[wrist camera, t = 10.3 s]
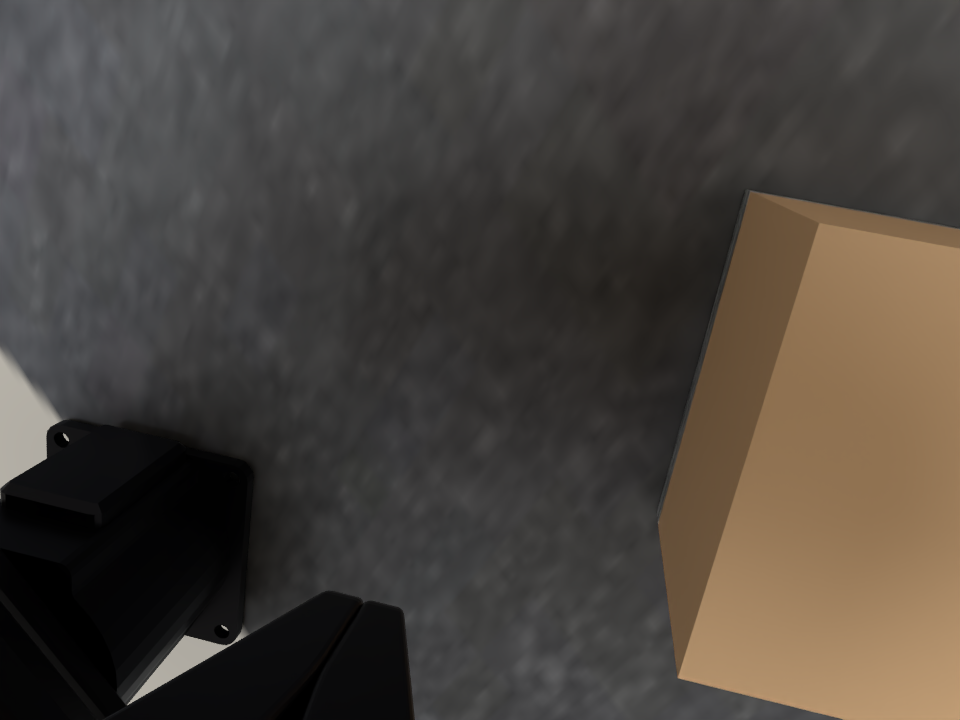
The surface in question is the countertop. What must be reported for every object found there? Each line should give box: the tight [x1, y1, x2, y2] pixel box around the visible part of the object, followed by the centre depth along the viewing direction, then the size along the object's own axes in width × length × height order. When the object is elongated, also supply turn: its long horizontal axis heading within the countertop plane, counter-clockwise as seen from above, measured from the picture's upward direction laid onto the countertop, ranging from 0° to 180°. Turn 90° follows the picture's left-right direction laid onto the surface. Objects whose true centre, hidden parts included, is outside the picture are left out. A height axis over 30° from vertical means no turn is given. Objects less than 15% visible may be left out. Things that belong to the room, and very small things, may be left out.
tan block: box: [658, 192, 960, 720], centre depth 16 cm, size 9×7×6 cm
